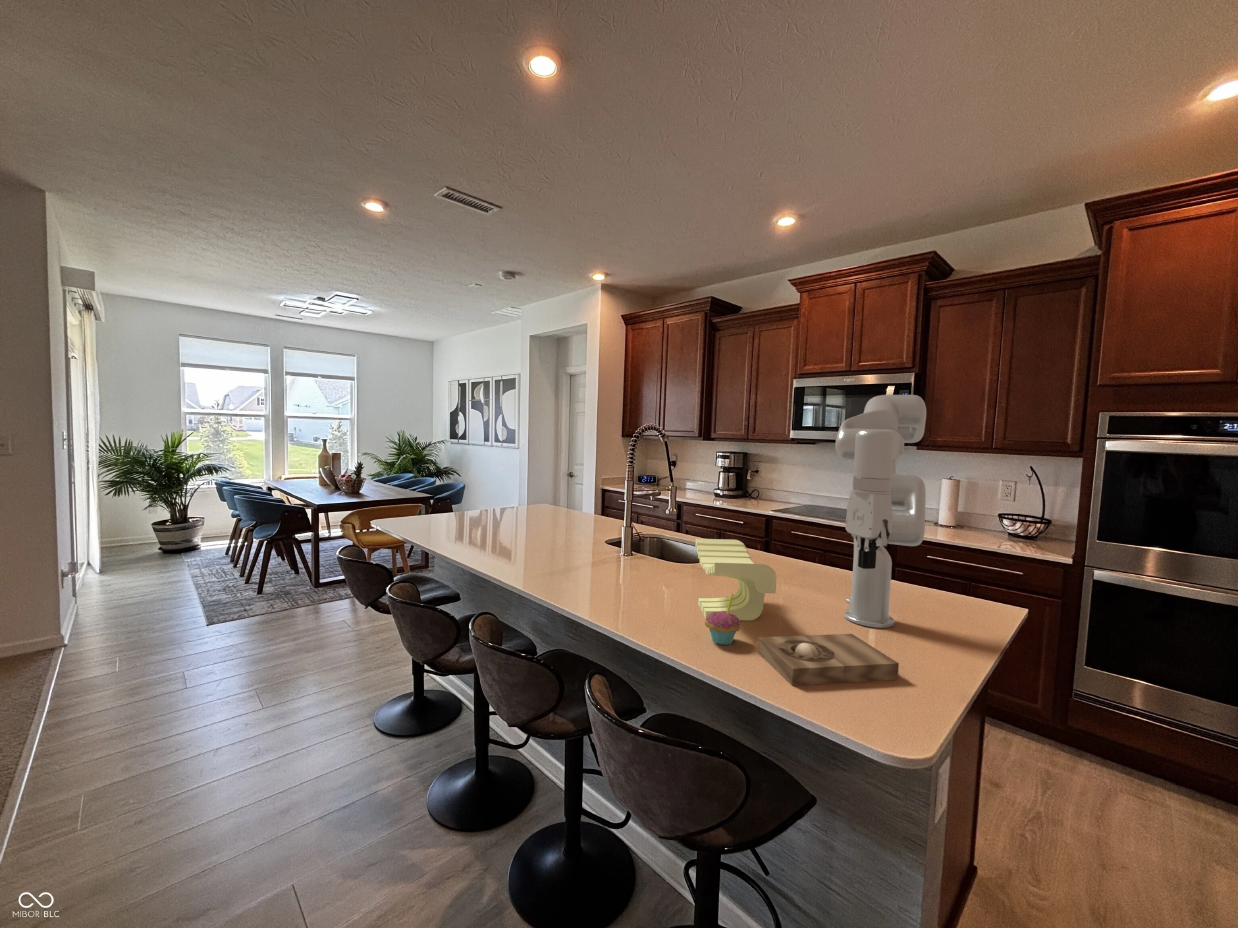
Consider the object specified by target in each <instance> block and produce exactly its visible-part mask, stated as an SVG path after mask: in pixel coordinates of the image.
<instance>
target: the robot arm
mask: <svg viewBox="0 0 1238 928" xmlns="http://www.w3.org/2000/svg"><path fill="white" fill-rule="evenodd" d="M926 420H927V407H926V403H925V401H924V400H923V398H922V396H919V395H917V394H916V395H915V394H881V395H876V396H874V397H872V398H870V399H869V400H868V401H867V402H866V404H865V406H864V410H863V413H860V414H858V415H855V416H852V417H849V418H847V419H845V420H844V421H843V422H842V423H841V425H840V426H839V428H838V431H837V435H836V436H835V437H836V439H835V445H834V446H835V452H836V454H837V456H838V458H840V459H842V460H845V461H853V474H852V479H853V480H852V489H851V491H850V493H849V498H848V502H847V509H846V516H845V517H846V518H845V530H846V532H847V533H849V534H851V535H850V536H851V537H852V538H853V564H852V577H851V578H852V583H851V596H850V598H846V599H845V603H846V604H848V605H849V607H848V608H849V609H846V610H845V611H844V613H843V614H844V618H845V619H846V620H847V621H849V622H852V623H854V624H857V625H860V626H864V627H871V628H875V629H877V628H881V629H886V628H891V627H893V626H895V618H894V617H893V616H891V615H889V614H890V613H889V611H890V599H891V597H890V595H891V581H892V567H893V562H892V558H891V557H892V556H891V555H890V554H889V552H888V550H887V549H886V548H885V547H888V544H889V545H899V546H904V547H905V546H907V547H917V546H920V545H921V544H922V543H923V541H924V538H925V533H926V532H925V531H926V530H925V529H926V528H925V527H926V524H925V523H926V502H927V501H926V500H927V499H926V498H927V497H926V496H927V494H926V485H925V482H924V480H923V479H922V478H921V477H920V476H918V475H914V474H901V473H897V460H898V459H899V458H900V457H901V456H902V455H903V453H904V450H905V444H906V443H907V444H913V443H918V442H919V441H921V440H922V438H923V437H924V435H925V431H926V430H925V428H926Z"/></svg>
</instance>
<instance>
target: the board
mask: <svg viewBox="0 0 1238 928" xmlns="http://www.w3.org/2000/svg"><path fill="white" fill-rule="evenodd" d="M801 643H810V644H812V645H813V646H814V647H815V648H816V649H817V651H818V653H819V656H818V657H807V656H801V655H799V654H796V653H795V649H796V647H797V646H798V645H799V644H801ZM757 653H758V654H759V655H760V656H761V657H762V658H763V659H764V660H765V661H766V662H767V663H768V664H769V665H770V666H771V667H772V669H774V670H775V671H776V672H778V674H780V676H782V677H783V678H784V680H786V681H787V682H788V683H789V684H790V685H791V686H805V685H807V686H809V685H822V684H842V683H843V684H845V683H859V682H878V681H879V682H880V681H894V680H895V681H896V680H898V679H899V667H900V666H899V665H900V663H899V662H897V661H896V660H894V659H893V658H891V657H890V656H888V655H886V654H884V653H883V652H881V651H880V650H879V649H877V648H875V647H874V646H872V645H870V644H869V643H867V642H866V641H865V640H862V639H861V638H859V637H858V636H856V635H855V634H853V633H835V634H833V633H832V634H811V635H808V634H807V635H788V636H785V635H784V636H783V635H782V636H762V637H761V636H760V637H757Z"/></svg>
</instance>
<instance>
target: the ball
mask: <svg viewBox="0 0 1238 928" xmlns="http://www.w3.org/2000/svg"><path fill="white" fill-rule="evenodd" d="M795 653H796V654H799V655H801V656H807V657H818V656H819V653H818V651H817V649H816V648H815V647H814V646H813V645H812V644H810V643H801V644H799V645H798V646H797V647H796V649H795Z"/></svg>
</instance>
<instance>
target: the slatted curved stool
mask: <svg viewBox="0 0 1238 928" xmlns="http://www.w3.org/2000/svg"><path fill="white" fill-rule="evenodd" d="M695 549H696V553H697V555H698V556H697V558H698V560H699V564H700V566H701V567H702V569H703V571H705V573H706V575H707V576H714V577H715V576H716V577H718V576H719V577H728V578H732V579H736V580H737V581H738V590H737V591H736V592H735V593H733V595H732V594H731V595H732V596H733V598H732V603H731V608H730V613H732V614H733V615H735V616H736V617H737V618H739V619H740V621H754V620H756V619H758V618H759V617H760V616H761V614H762V612H763V610H764V603H765V602H764V601H765V596H766V595H765V594H776V592H777V574H776V572H775V570H774V568H773V567H771V566H770V564H766V563H755V562H753V560H752V556H750V552H749V551H748V548H747V547H746V545H745V544H744V543H743V542H742V541H740V540H738V539H724V538H720V539H719V538H718V539H717V538H716V539H715V538H695ZM731 595H730V596H731ZM730 596H725V597H724V596H723V597H714V598H712V597H710V598H707V597H706V598H704V597H703V598H701V597H699V598H698V602H697V604H698V607H699V608H700V610H701V612H702V614H703V616H704V618H705V619H706V617H707V616H708V615H709V614H711V613H713V612H720V611H726V612H727V609H728V604H729V599H730Z"/></svg>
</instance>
